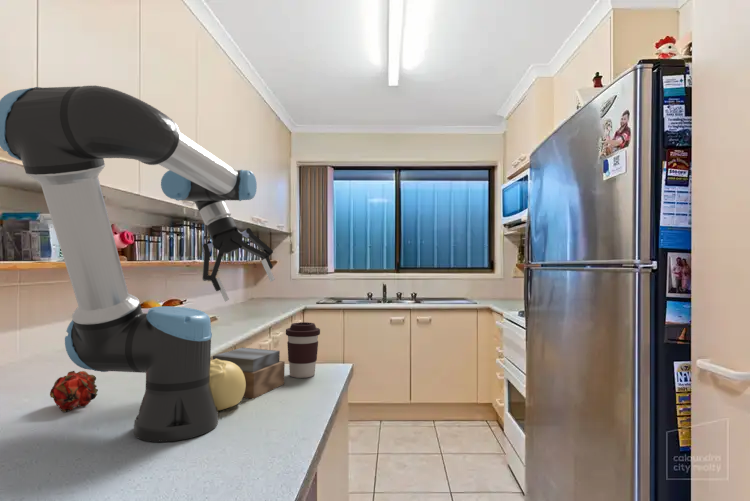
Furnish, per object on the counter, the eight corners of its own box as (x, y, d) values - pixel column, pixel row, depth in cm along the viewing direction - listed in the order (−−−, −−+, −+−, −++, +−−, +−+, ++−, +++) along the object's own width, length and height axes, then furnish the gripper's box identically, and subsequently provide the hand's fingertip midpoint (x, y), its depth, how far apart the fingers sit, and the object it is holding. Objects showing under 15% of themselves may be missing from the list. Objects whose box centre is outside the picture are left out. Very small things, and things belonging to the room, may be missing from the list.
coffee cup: (301, 381, 121) (302, 327, 122) (277, 375, 127) (278, 323, 128) (326, 374, 129) (327, 323, 130) (302, 369, 135) (303, 320, 136)
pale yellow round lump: (181, 405, 100) (183, 358, 100) (233, 396, 108) (234, 351, 108) (198, 420, 91) (199, 367, 92) (253, 408, 99) (254, 360, 99)
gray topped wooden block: (253, 398, 106) (254, 361, 106) (206, 392, 110) (206, 356, 111) (284, 383, 119) (284, 350, 119) (240, 378, 123) (241, 346, 124)
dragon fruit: (82, 405, 104) (73, 430, 94) (47, 388, 101) (33, 412, 90) (107, 375, 106) (101, 396, 95) (73, 357, 102) (62, 377, 91)
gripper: (257, 210, 132) (287, 275, 131) (172, 239, 120) (205, 310, 119) (262, 203, 125) (294, 270, 125) (173, 233, 113) (208, 308, 113)
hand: (250, 290), depth 122 cm, fingers open, 13 cm apart
